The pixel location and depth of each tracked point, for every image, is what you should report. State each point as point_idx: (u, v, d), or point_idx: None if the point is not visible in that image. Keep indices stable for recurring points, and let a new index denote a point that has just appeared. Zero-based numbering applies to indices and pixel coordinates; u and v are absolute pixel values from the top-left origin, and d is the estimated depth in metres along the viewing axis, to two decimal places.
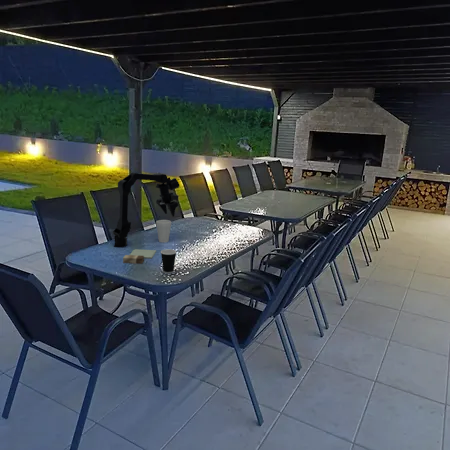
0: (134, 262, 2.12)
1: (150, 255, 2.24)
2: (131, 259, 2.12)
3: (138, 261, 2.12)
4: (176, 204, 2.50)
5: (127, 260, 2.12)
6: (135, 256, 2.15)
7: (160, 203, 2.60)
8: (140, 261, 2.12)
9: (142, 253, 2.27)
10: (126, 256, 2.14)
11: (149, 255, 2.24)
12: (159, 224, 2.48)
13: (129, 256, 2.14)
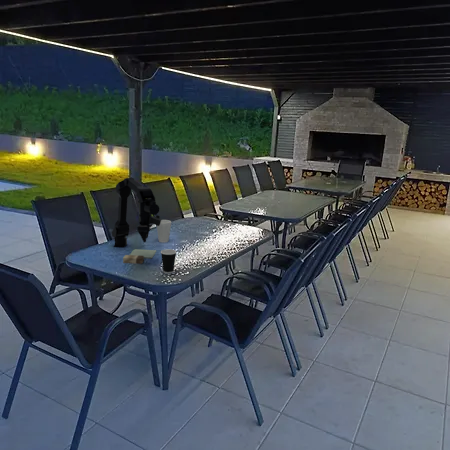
0: (134, 262, 2.12)
1: (150, 255, 2.24)
2: (131, 259, 2.12)
3: (138, 261, 2.12)
4: (146, 228, 2.04)
5: (127, 260, 2.12)
6: (135, 256, 2.15)
7: None
8: (140, 261, 2.12)
9: (142, 253, 2.27)
10: (126, 256, 2.14)
11: (149, 255, 2.24)
12: None
13: (129, 256, 2.14)
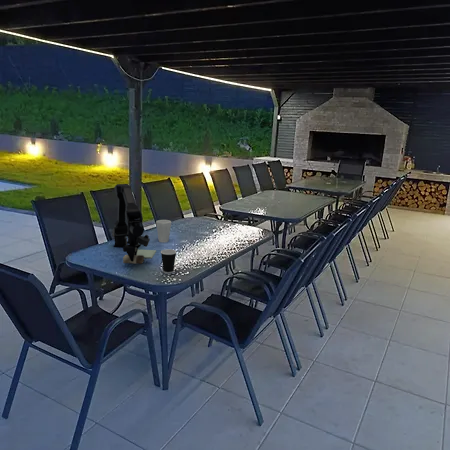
0: (134, 262, 2.12)
1: (150, 255, 2.24)
2: None
3: (138, 261, 2.12)
4: (131, 249, 2.03)
5: (127, 260, 2.12)
6: (135, 256, 2.15)
7: None
8: (140, 261, 2.12)
9: (142, 253, 2.27)
10: (126, 256, 2.14)
11: (149, 255, 2.24)
12: (159, 224, 2.48)
13: None
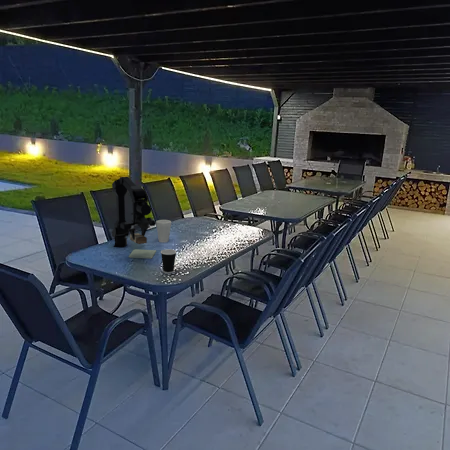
0: (135, 241, 2.17)
1: (150, 255, 2.24)
2: None
3: (136, 240, 2.15)
4: (123, 226, 2.10)
5: (131, 237, 2.19)
6: (140, 236, 2.18)
7: None
8: (137, 241, 2.14)
9: (142, 253, 2.27)
10: (135, 234, 2.21)
11: (149, 255, 2.24)
12: (159, 224, 2.48)
13: (136, 235, 2.20)
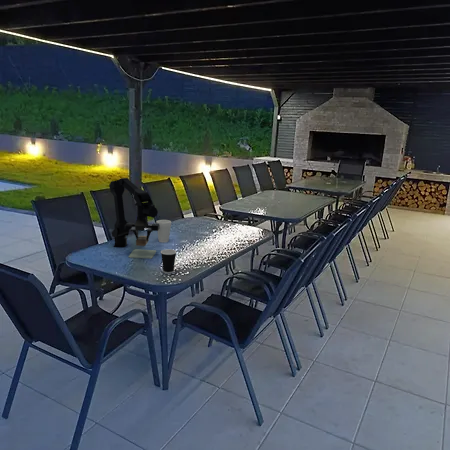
0: None
1: (150, 255, 2.24)
2: None
3: None
4: None
5: None
6: (143, 238, 2.24)
7: None
8: None
9: (142, 253, 2.27)
10: (143, 236, 2.29)
11: (149, 255, 2.24)
12: (159, 224, 2.48)
13: (142, 237, 2.27)
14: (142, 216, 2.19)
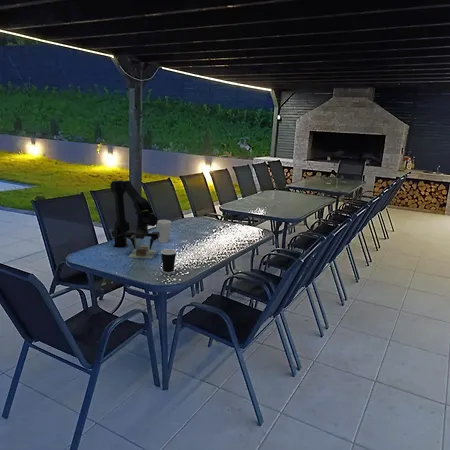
0: None
1: (150, 255, 2.24)
2: None
3: None
4: None
5: None
6: (143, 248, 2.25)
7: None
8: None
9: None
10: (144, 246, 2.30)
11: (149, 255, 2.24)
12: (159, 224, 2.48)
13: (142, 247, 2.28)
14: (142, 224, 2.20)
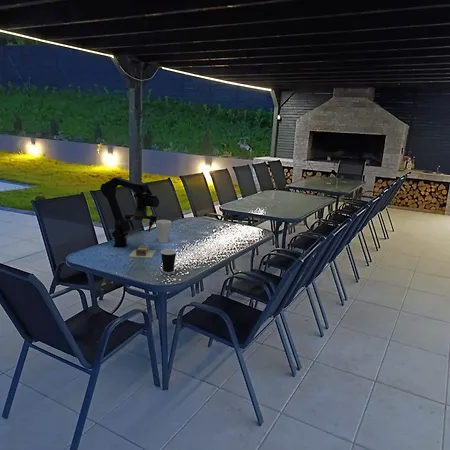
0: None
1: (150, 255, 2.24)
2: None
3: None
4: None
5: None
6: (143, 248, 2.25)
7: None
8: None
9: None
10: (144, 246, 2.30)
11: (149, 255, 2.24)
12: (159, 224, 2.48)
13: (142, 247, 2.28)
14: (141, 207, 2.26)
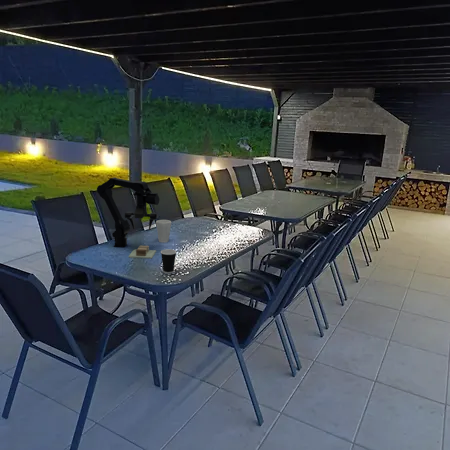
0: None
1: (150, 255, 2.24)
2: None
3: None
4: None
5: None
6: (143, 248, 2.25)
7: None
8: None
9: None
10: (144, 246, 2.30)
11: (149, 255, 2.24)
12: (159, 224, 2.48)
13: (142, 247, 2.28)
14: (141, 205, 2.29)
